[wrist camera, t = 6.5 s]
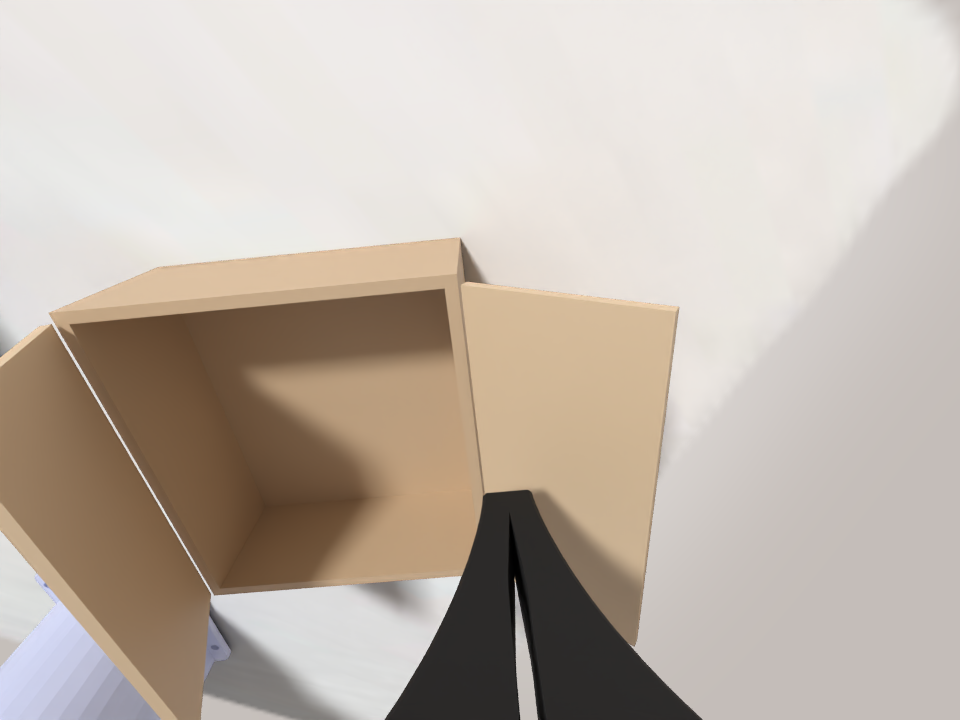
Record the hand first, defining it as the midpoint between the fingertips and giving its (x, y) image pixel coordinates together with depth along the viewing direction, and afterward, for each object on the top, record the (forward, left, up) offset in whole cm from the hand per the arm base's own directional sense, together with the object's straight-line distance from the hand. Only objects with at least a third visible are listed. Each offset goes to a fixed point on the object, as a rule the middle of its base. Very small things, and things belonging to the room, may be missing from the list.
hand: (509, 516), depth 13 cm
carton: (0, +7, -8) cm, 11 cm away
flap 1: (0, +12, 0) cm, 12 cm away
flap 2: (0, -2, -1) cm, 2 cm away
